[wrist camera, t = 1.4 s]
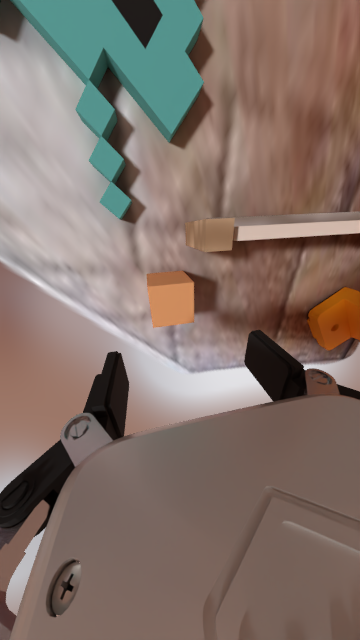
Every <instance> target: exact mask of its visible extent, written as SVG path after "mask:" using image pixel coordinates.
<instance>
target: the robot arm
mask: <svg viewBox="0 0 360 640" xmlns="http://www.w3.org/2000/svg"><path fill="white" fill-rule="evenodd" d="M244 362H245V365H246V367H247V368H248V369H249V370H250V372H251V373H252V374H253V376H254V377H255V378H256V380H257V381H258V382H259V383H260V385H261V386H262V387H263V389H264V390H265V391H266V392H267V394H268V395H269V396H270V398H271V399H272V400H273V401H274V402H270V403H265V404H260V405H256V406H251V407H246V408H242V409H237V410H232V411H228V412H223V413H219V414H215V415H210V416H205V417H201V418H196V419H192V420H188V421H183V422H179V423H175V424H170V425H166V426H162V427H157V428H154V429H150V430H145V431H141V432H137V433H134V434H131V435H127V436H124V429H125V419H126V410H127V400H128V391H129V381H128V378H127V374H126V370H125V366H124V363H123V359H122V355H121V353H118V352H117V351H116V352H110V353H108V354H107V358H106V361H105V364H104V367H103V370H102V374H98V375H97V376H96V377H95V379H94V382H93V385H92V388H91V391H90V394H89V397H88V399H87V402H86V405H85V408H84V411H83V413H81V414H79V415H76V416H75V417H73V418H71V419H70V420H69V421H68V422H67V423H66V424H65V426H64V427H63V429H62V431H61V435H60V438H61V439H60V441H58V442H57V443H56V444H55V445H54V446H52V447H51V448H50V449H49V450H48V451H46V452H45V453H44V454H43V455H42V456H41V457H40V458H39V459H37V460H36V461H35V462H34V463H32V464H31V465H30V466H29V467H28V468H27V469H26V470H24V471H23V472H22V473H21V474H20V475H18V476H17V477H16V478H15V479H14V480H13V481H11V483H10V484H8V485H7V486H6V487H5V488H4V490H3V491H2V492H1V493H0V640H360V392H359V391H356V390H353V389H350V388H347V387H344V386H341V385H338V384H336V381H335V379H334V378H333V377H332V376H331V375H329V374H328V373H326V372H324V371H322V370H319V369H307V370H306V371H305V370H304V369H303V368H304V366H303V365H302V364H301V363H299V362H298V361H297V360H296V359H295V358H293V357H292V356H291V355H290V354H289V353H287V352H286V351H285V350H284V349H282V348H281V347H280V346H279V345H278V344H276V343H275V342H274V341H273V340H272V339H270V338H269V337H268V336H267V335H266V334H264V333H263V332H262V331H261V330H256V331H251V333H250V334H249V337H248V343H247V349H246V354H245V360H244ZM45 528H46V529H45ZM43 529H45V532H44V535H43V538H42V540H41V543H40V546H39V550H38V552H37V556H36V559H35V561H34V564H33V567H32V570H31V573H30V577H29V579H28V582H27V585H26V588H25V591H24V595H23V598H22V601H21V604H20V607H19V611H18V614H17V616H16V615H15V614H14V613H12V612H11V611H10V610H9V609H8V607H7V605H6V591H7V587H8V585H9V582H10V579H11V577H12V575H13V573H14V571H15V570H16V567H17V566H18V565H19V563H20V562H21V560H22V558H23V557H24V555H25V554H26V553H25V552H24V551H25V549H26V548H27V546H28V545H29V543H30V542H31V540H32V539H33V537H35V536H36V535H38V534H39V533H40V532H41V531H42V530H43ZM79 562H80V563H79ZM61 586H62V587H61ZM56 615H60V616H58V617H56Z"/></svg>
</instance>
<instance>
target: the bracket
mask: <svg viewBox="0 0 360 640" xmlns="http://www.w3.org/2000/svg"><path fill="white" fill-rule="evenodd" d="M308 316H309V319H307V321H308V324H309V327H310V329H311V332H312V335H313V337H314V338H315V339H317V342H318V344H319V345H320V346H322V347H323V348H325V349H327V350H332V349H333V348H335V347H336V346H338V345H340V344H341V343H343V342H344V341H346V340H348V339H349V338H351V337H352V338H355V339H358V340H359V341H360V292H359V291H357V290H353V289H350V288H346V287H344V288H343V289H341V290H340V291H338V292H337V293H335V294H334V295H332V296H331V297H329V298H328V299H326V300H325V301H323V302H322V303H320V304H319V305H318V306H316V307H315V308H313V309H312V310H311V311H310V312H309V314H308Z"/></svg>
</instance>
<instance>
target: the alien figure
mask: <svg viewBox="0 0 360 640" xmlns="http://www.w3.org/2000/svg"><path fill="white" fill-rule="evenodd" d="M0 1H1V0H0ZM10 1H11V2H12V3H13V4H14V5H15V7H16V8H17V9H18V10H19V11H20V12H21V13H22V14H23V15H24V17H25V18H26V19H27V20H28V21H29V22H30V23H31V24H32V26H33V27H34V28H35V29H36V30H37V31H38V32H39V33H40V35H41V36H42V37H43V38H44V39H45V40H46V41H47V42H48V43H49V45H50V46H51V47H52V48H53V49H54V50H55V51H56V52H57V54H58V55H59V56H60V57H61V58H62V59H63V60H64V61H65V63H66V64H67V65H68V66H69V67H70V68H71V69H72V70H73V71H74V73H75V74H76V75H77V76H78V77H79V78H80V79H81V80H82V82H83V83H84V84H85V85H86V87H85V89H84V92H83V94H82V96H81V98H80V100H79V103H78V105H77V107H76V111H77V113H78V115H79V116H80V118H81V120H82V121H83V122H84V124H85V125H86V126H87V127H88V128H89V129H90V130H91V131H92V132H93V133H94V134H95V135H96V136H97V137H98V138H99V141H98V143H97V145H96V147H95V149H94V151H93V153H92V155H91V157H90V159H89V161H90V163H91V164H92V165H93V166H94V167H95V168H96V169H97V170H98V171H99V172H100V173H101V174H102V175H103V176H104V177H105V178H106V179H108V180H109V181H110V182H111V183H110V184H109V186H108V188H107V190H106V191H105V193H104V195H103V197H102V199H101V200H100V203H101V204H102V205H103V206H105V207H106V208H107V209H108V210H109V211H111V212H112V213H113V214H114V215H115V216H116V217H118V218H119V219H121V220H122V218H123V216H124V215H125V213H126V212H127V210H128V208H129V207H130V205H131V204H132V201H131V199H130V198H129V197H127V196H126V195H125V194H124V193H123V192H122V191H121V190H120V189H119V188H118V187H117V186H116V185H115V183H116V181H117V179H118V178H119V176H120V174H121V172H122V171H123V169H124V167H125V162H124V159H123V158H122V157H121V156H120V155H119V154H118V153H117V152H116V151H115V150H114V148H113V147H112V146H111V145H110V144H109V143H108V142H107V140H108V138H109V136H110V134H111V132H112V131H113V129H114V127H115V125H116V123H117V116H116V112H115V109H114V108H113V107H112V106H111V104H110V103H109V102H108V101H107V100H106V99H105V98H104V96H103V95H102V94H101V93H100V92H99V91H98V90H97V89H98V87H99V85H100V82H101V80H102V78H103V76H104V74H105V72H106V70H107V68H109V69H110V70H111V71H112V73H113V74H114V75H115V76H116V78H117V79H118V80H119V81H120V82H121V84H122V85H123V86H124V87H125V89H126V90H127V91H128V92H129V94H130V95H131V96H132V97H133V99H134V100H135V101H136V102H137V104H138V105H139V106H140V107H141V109H142V110H143V111H144V112H145V113H146V115H147V116H148V117H149V118H150V120H151V121H152V122H153V123H154V125H155V126H156V127H157V128H158V130H159V131H160V132H161V133H162V135H163V136H164V137H165V138H166V139H167V141H168V142H170V141H171V139H172V138H173V136H174V134H175V133H176V131H177V129H178V128H179V126H180V125H181V123H182V121H183V120H184V118H185V117H186V115H187V113H188V112H189V110H190V109H191V107H192V105H193V104H194V102H195V100H196V99H197V97H198V95H199V93H200V90H201V88H202V86H203V83H204V81H203V80H202V78H201V77H200V75H199V73H198V72H197V70H196V68H195V67H194V65H193V63H192V62H191V60H190V59H189V57H188V55H189V54H190V52H191V50H192V48H193V47H194V45H195V43H196V42H197V39H198V36H199V32H200V29H201V25H202V22H203V16H202V14H201V12H200V10H199V8H198V7H197V5H196V3H195V1H194V0H10Z"/></svg>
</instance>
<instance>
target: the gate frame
mask: <svg viewBox="0 0 360 640" xmlns="http://www.w3.org/2000/svg"><path fill="white" fill-rule="evenodd" d="M350 220H360V212H341V213H318V214H295V215H272V216H249V217H226V218H206V219H204V220H199V221H193V222H188V223H185V228H186V245H187V246H190V247H193V248H195V249H198V250H201V251H204V252H213V251H226V250H232V242H233V232H234V226H254V225H273V224H292V223H312V222H331V221H350Z"/></svg>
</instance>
